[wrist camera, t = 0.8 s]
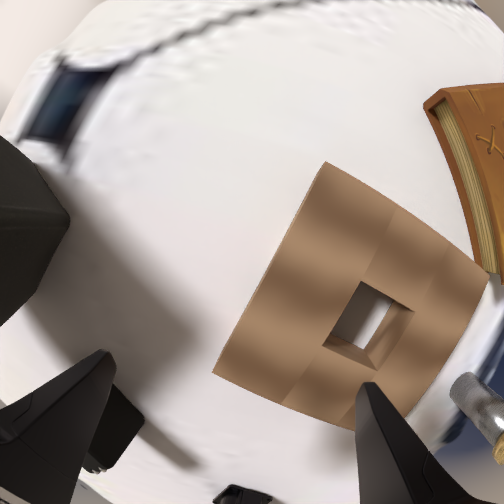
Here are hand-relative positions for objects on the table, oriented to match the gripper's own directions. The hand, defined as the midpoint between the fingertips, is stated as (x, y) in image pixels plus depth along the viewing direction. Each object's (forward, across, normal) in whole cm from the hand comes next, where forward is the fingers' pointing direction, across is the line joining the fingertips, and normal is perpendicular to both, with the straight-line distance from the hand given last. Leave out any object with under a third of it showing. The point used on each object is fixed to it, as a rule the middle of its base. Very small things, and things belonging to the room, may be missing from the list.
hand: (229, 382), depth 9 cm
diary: (+21, -29, -8) cm, 37 cm away
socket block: (+14, -9, +7) cm, 18 cm away
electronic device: (+9, +17, +20) cm, 28 cm away
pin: (+10, -25, +16) cm, 32 cm away
